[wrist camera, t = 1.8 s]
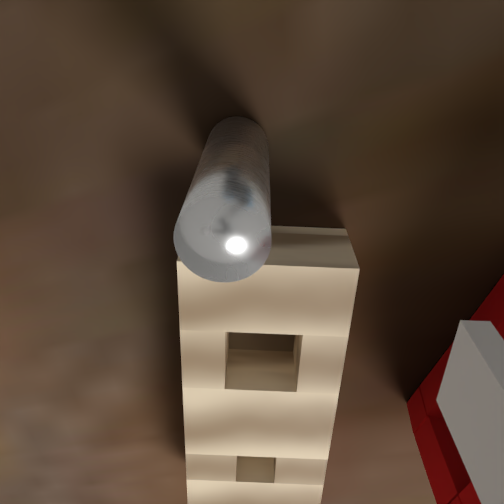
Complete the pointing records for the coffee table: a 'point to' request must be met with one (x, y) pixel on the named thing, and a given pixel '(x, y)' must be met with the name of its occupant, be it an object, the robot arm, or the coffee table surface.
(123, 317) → the coffee table surface
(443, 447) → the fire alarm
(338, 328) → the bore block
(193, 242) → the pin
